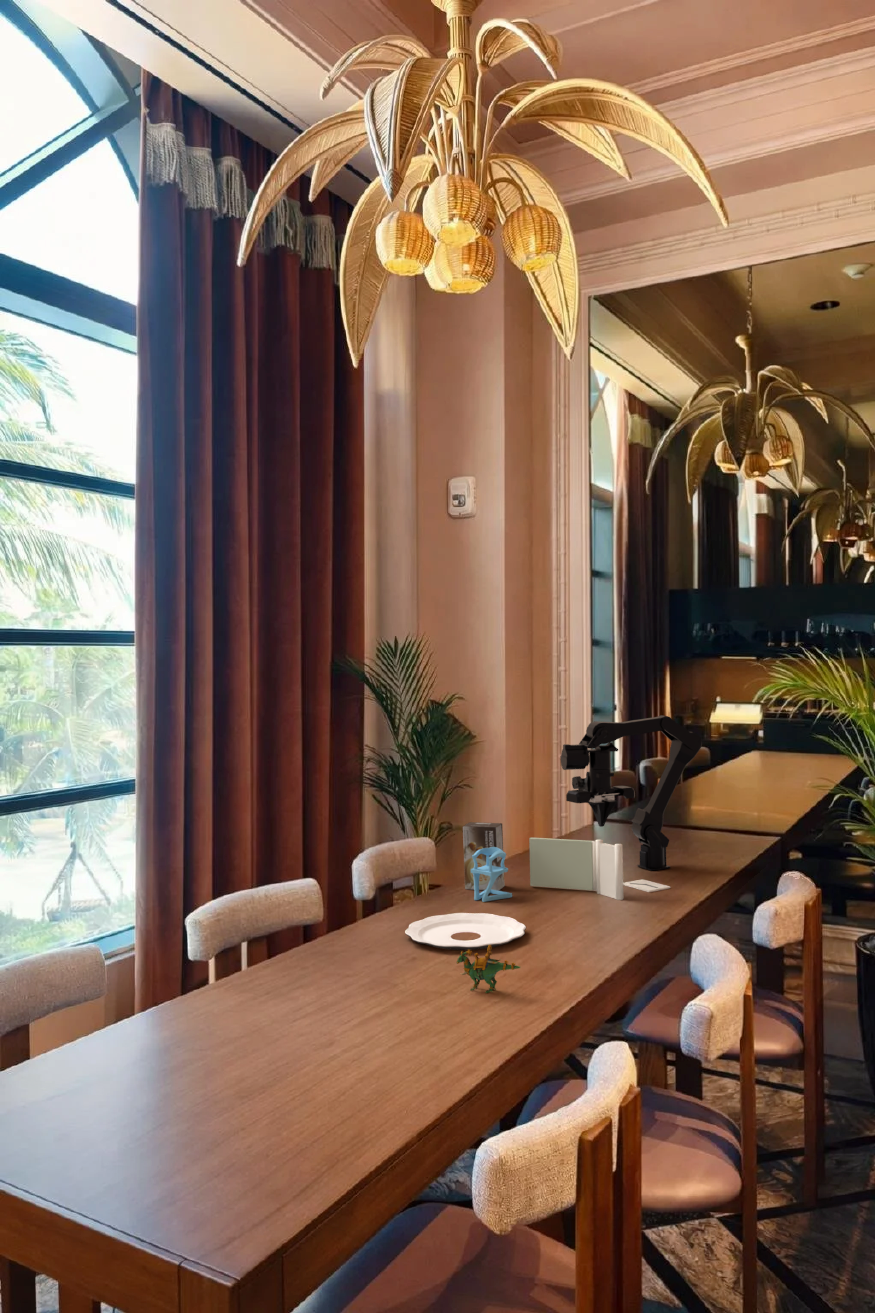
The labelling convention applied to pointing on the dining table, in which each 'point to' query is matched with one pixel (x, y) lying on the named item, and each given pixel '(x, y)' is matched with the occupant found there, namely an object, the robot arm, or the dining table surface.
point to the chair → (489, 874)
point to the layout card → (646, 885)
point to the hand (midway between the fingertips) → (601, 826)
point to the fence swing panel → (563, 863)
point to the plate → (465, 930)
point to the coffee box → (475, 840)
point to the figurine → (483, 968)
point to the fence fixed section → (609, 869)
